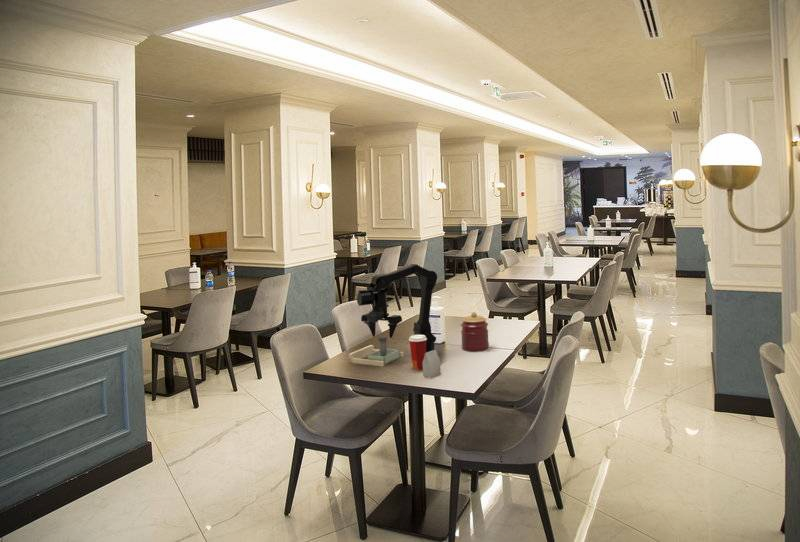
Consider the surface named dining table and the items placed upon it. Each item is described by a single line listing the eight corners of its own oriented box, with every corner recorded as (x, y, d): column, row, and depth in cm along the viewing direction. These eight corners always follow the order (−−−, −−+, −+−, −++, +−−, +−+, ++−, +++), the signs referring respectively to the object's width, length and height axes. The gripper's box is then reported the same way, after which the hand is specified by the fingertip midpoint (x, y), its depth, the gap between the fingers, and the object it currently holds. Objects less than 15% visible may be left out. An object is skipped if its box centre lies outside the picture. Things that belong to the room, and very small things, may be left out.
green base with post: (399, 357, 261) (398, 335, 260) (384, 364, 250) (383, 341, 249) (383, 355, 266) (382, 334, 265) (367, 362, 255) (366, 340, 254)
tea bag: (440, 373, 235) (439, 350, 234) (430, 378, 230) (428, 354, 229) (433, 372, 238) (432, 349, 236) (423, 376, 233) (421, 352, 232)
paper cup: (430, 366, 247) (428, 334, 246) (425, 371, 240) (423, 338, 239) (413, 365, 250) (411, 334, 248) (407, 370, 243) (406, 338, 241)
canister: (458, 351, 270) (456, 314, 268) (465, 344, 282) (464, 309, 280) (485, 352, 265) (484, 315, 263) (491, 345, 277) (490, 310, 275)
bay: (403, 357, 263) (403, 347, 262) (382, 368, 248) (381, 357, 247) (371, 354, 272) (371, 344, 272) (349, 364, 257) (348, 354, 257)
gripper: (353, 305, 253) (355, 339, 255) (388, 307, 243) (390, 342, 245) (367, 301, 262) (369, 334, 264) (401, 302, 253) (403, 337, 254)
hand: (382, 337), depth 257 cm, fingers open, 9 cm apart
